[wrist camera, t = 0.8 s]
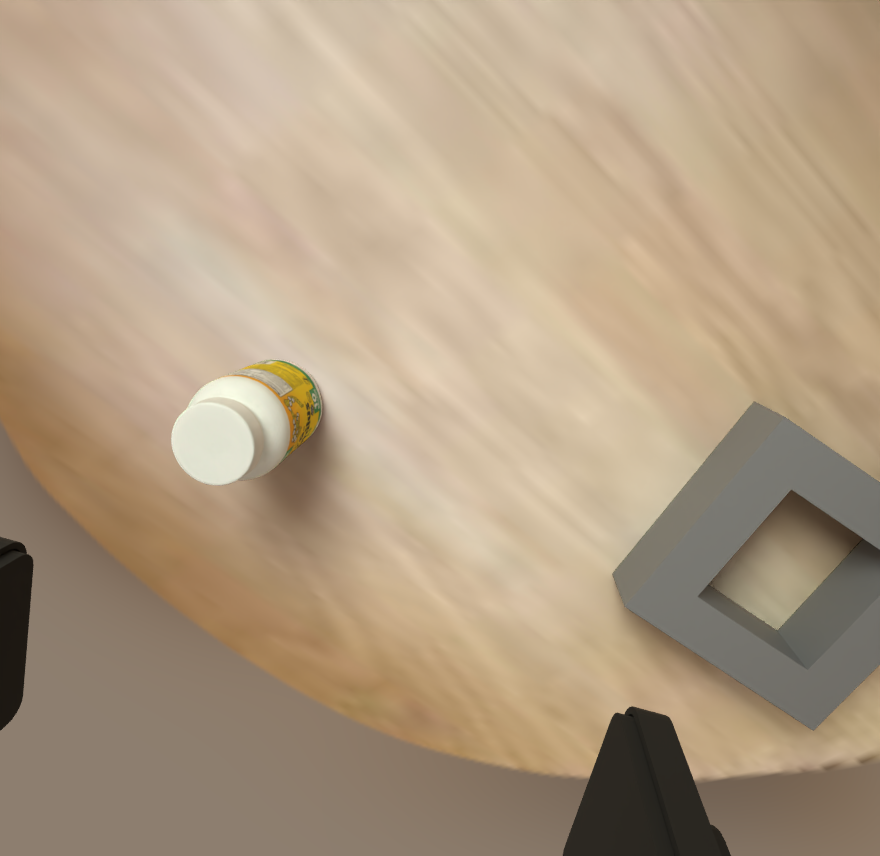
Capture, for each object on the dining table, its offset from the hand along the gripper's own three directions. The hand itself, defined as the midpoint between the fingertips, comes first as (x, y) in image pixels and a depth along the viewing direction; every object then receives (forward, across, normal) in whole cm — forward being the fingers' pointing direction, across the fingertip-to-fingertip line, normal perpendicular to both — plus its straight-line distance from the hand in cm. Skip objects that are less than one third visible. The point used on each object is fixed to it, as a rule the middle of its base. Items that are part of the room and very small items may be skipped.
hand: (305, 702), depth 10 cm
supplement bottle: (+29, +10, +4) cm, 30 cm away
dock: (+28, -21, +5) cm, 36 cm away
